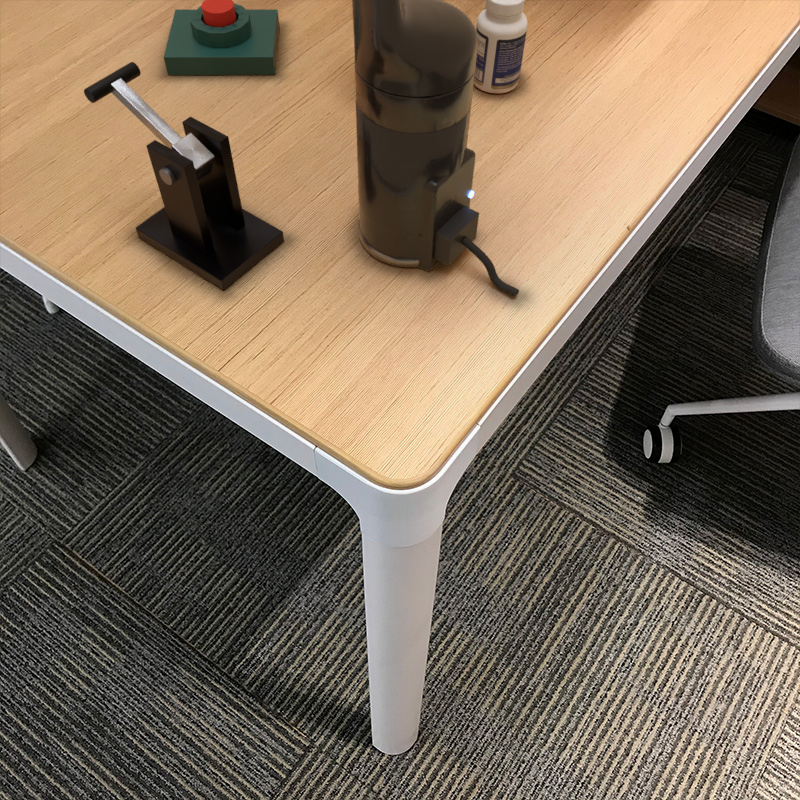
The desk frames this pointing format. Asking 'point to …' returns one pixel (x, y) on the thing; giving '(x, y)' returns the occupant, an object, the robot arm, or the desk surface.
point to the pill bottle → (500, 45)
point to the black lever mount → (205, 213)
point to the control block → (223, 44)
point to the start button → (218, 12)
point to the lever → (151, 117)
